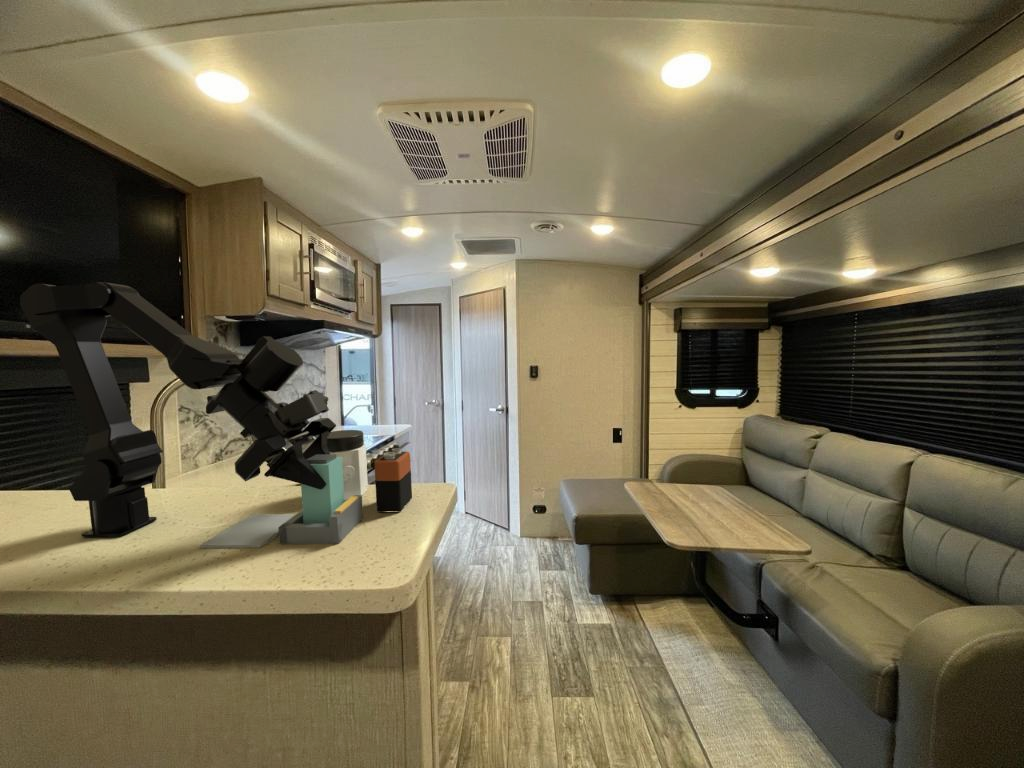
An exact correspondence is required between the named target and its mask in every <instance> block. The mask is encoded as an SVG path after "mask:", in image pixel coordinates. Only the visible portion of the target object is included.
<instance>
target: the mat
mask: <svg viewBox="0 0 1024 768" xmlns="http://www.w3.org/2000/svg"><path fill="white" fill-rule="evenodd" d="M296 514H297V513H253V514H252V513H251V514H249V515H247V516H245V517H244V518H242V519H241V520H239V521H237V522H236V523H234V524H232V525H230V526H229V527H227V528H226V529H224V530H222V531H220V532H219V533H217V534H216V535H213V536H212V537H211V538H209V539H207V540H206V541H204V542H203V543H201V544H199V548H200V549H209V548H210V549H217V548H218V549H221V548H223V549H225V548H226V549H227V548H228V549H229V548H231V549H232V548H233V549H241V548H247V549H248V548H249V549H250V548H252V549H253V548H256V549H258V548H262V547H263V546H265V545H266V544H267V543H269V542H271V540H273V539H274V538H275V537H277V536H279V531H278V527H279V526H281V525H282V524H284V523H285V522H286V521H288V520H289V519H291V518H292V517H293V516H295V515H296Z"/></svg>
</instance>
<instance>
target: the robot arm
mask: <svg viewBox="0 0 1024 768" xmlns="http://www.w3.org/2000/svg"><path fill="white" fill-rule="evenodd" d="M19 305H20V309H21V310H22V312H23V315H24V316H25V317H26V319H27V321H28V323H29V324H30V326H31V327H32V329H33V330H34V331H35V332H36V333H38V334H39V335H41V336H42V337H43V338H44V339H46V340H47V341H48V342H49V343H50V344H53V345H54V346H55V348H56V350H57V353H58V355H59V358H60V362H61V363H62V366H63V369H64V371H65V374H66V375H67V376H66V377H67V379H68V381H69V384H70V387H71V390H72V391H73V395H74V397H75V400H76V401H77V404H78V407H79V409H80V411H81V414H82V417H83V419H84V422H85V425H86V427H87V430H88V433H89V437H88V439H87V442H86V445H85V448H84V450H83V453H82V456H83V457H82V458H83V461H84V466H85V469H84V470H83V472H82V473H81V474H80V475H79V476H78V477H77V478H76V479H75V480H74V482H73V483H72V484H71V485H70V487H69V488H68V489H69V493H70V494H71V497H72V499H73V500H74V501H76V502H88V506H89V515H90V526H91V529H89V530H87V531H84V532H81V533H80V537H82V538H93V537H94V538H109V537H111V538H117V537H122V536H125V535H127V534H130V533H131V532H133V531H136V530H138V529H139V528H142V527H144V526H147V525H148V524H151V523H153V522H155V521H157V520H158V519H157V516H150V514H149V513H150V512H149V504H148V502H149V501H148V497H147V496H146V491H145V487H144V486H146V485H151V484H153V483H155V481H156V478H157V473H158V470H159V467H160V465H161V464H162V456H161V453H163V452H164V451H163V449H162V448H161V447H160V445H159V444H158V441H157V435H156V433H155V432H154V430H153V429H148V430H142V429H140V428H139V427H137V426H136V425H135V424H134V423H133V422H132V419H131V417H130V414H129V411H128V408H127V405H126V403H125V401H124V399H123V396H122V392H121V390H120V387H119V385H118V382H117V378H115V374H114V372H113V369H112V366H111V365H110V361H109V360H108V356H107V353H106V351H105V349H104V346H103V344H102V340H101V339H102V336H103V333H104V331H105V329H106V326H107V324H108V322H107V317H112V318H114V319H115V320H116V321H118V322H119V323H120V324H121V325H123V326H124V327H125V328H127V329H129V330H130V331H131V332H133V333H134V334H135V335H137V337H139V338H141V339H142V340H143V341H145V342H146V343H147V344H149V345H150V346H151V347H153V348H154V349H155V350H157V351H158V352H159V353H161V354H162V355H163V356H164V358H165V359H166V360H167V364H168V368H169V370H170V371H171V372H172V373H173V374H174V375H175V376H176V377H177V378H178V379H179V380H180V381H181V383H183V384H184V385H185V386H186V387H188V388H189V389H191V390H207V389H214V388H220V387H221V388H220V390H219V391H218V392H217V393H216V394H212V395H208V396H207V397H206V400H207V402H206V406H205V413H206V415H211V414H212V415H213V414H216V413H220V412H221V413H222V412H225V413H226V414H227V415H229V416H230V417H231V418H232V419H233V420H234V421H235V422H236V423H237V424H238V425H239V426H241V428H243V430H241V431H240V433H239V434H240V435H241V436H242V437H243V438H244V439H246V438H249V437H253V439H255V440H254V441H253V442H252V443H251V444H250V445H249V446H248V448H247V449H246V450H245V451H244V452H243V453H242V454H241V455H240V456H239V458H238V459H237V460H236V461H234V471H235V474H236V475H238V476H239V478H241V479H242V480H243V481H244V483H245V482H248V481H250V480H252V479H255V478H256V477H258V476H259V475H260V474H261V466H262V465H263V464H264V463H266V466H267V467H268V470H267V471H265V473H264V475H263V476H265V478H268V477H272V478H277V479H281V480H286V481H289V482H294V483H297V484H300V485H301V484H303V485H307V486H310V487H313V488H317V489H320V490H321V489H323V488H324V487H325V486H326V483H325V481H324V480H323V479H322V477H321V476H320V475H319V474H318V473H317V472H316V470H315V469H314V468H313V467H312V466H311V465H310V464H309V463H308V461H307V459H309V458H311V457H313V456H315V455H317V454H330V452H329V450H328V448H327V437H328V435H329V433H330V432H333V431H334V429H336V427H337V424H336V423H335V422H334V421H333V420H332V419H330V417H320V418H318V419H314V420H312V421H309V419H312V418H313V417H316V416H318V415H319V414H324V413H326V412H328V411H330V409H329V407H328V402H329V397H328V396H325V395H324V393H323V392H320V391H318V390H311V391H309V393H305V394H303V396H301V397H300V398H297V399H296V400H294V401H292V402H290V403H287V402H284V401H283V402H278V403H277V402H276V401H275V400H274V399H273V398H272V397H270V395H268V392H278V391H280V390H281V389H282V388H283V387H284V385H285V384H287V382H288V381H289V380H290V379H291V377H293V376H294V374H296V372H297V371H298V370H299V369H300V368H301V367H302V366H303V364H304V361H303V358H302V357H301V355H300V354H299V353H298V352H297V351H296V350H295V349H293V348H292V349H291V348H290V347H289V346H287V345H286V344H283V343H282V342H279V341H277V340H275V339H274V338H273V337H272V336H265V335H263V336H260V338H259V339H258V340H257V341H256V343H255V344H254V347H252V349H250V351H249V352H248V353H247V354H246V356H244V357H243V358H239V357H238V356H237V354H235V353H234V352H232V351H231V350H228V349H226V348H224V347H222V346H220V345H218V344H216V343H213V342H210V341H208V340H205V339H201V338H200V337H197V336H195V335H193V334H192V333H191V332H190V331H188V330H187V329H185V328H184V327H183V326H182V325H180V324H179V323H177V322H176V321H175V320H173V319H172V318H171V317H170V316H168V315H167V314H165V313H164V312H162V311H161V310H160V309H158V307H156V306H154V305H153V304H152V303H151V302H149V301H148V300H146V299H145V298H144V297H142V296H141V295H140V293H139V292H138V291H137V290H136V289H134V288H133V287H131V286H129V285H125V284H120V283H119V284H117V283H111V282H105V281H104V282H103V281H99V282H93V283H85V284H74V285H73V284H72V285H71V284H70V285H69V284H67V285H53V284H45V283H34V284H32V285H30V286H29V287H27V289H26V290H24V291H23V292H22V293H21V294H20V298H19Z"/></svg>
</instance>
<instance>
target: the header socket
mask: <svg viewBox="0 0 1024 768" xmlns="http://www.w3.org/2000/svg"><path fill="white" fill-rule="evenodd" d="M363 511H364V508H363V495H354V496H351V497H350V498H349V499H348V500H345V501H344V503H343V504H342V505H341V506H340V507H338V508H337V509H336V510H335V511H334V513H333V514H332V515H331V516H330V517H329V523H324V524H303V509H302V510H300V511H299V512H298V513H295V514H296V515H295V516H293V517H292V518H291V519H289V520H288V521H286V522H285V523H284V524H282V525H281V526H279V527H278V531H279V534H278V542H279V545H285V544H286V545H293V544H294V545H300V544H301V545H303V544H305V545H306V544H307V545H308V544H309V545H311V544H313V545H318V544H320V545H323V544H324V545H325V544H326V545H327V544H331V545H333V544H335V545H336V544H340V543H341V542H342V541H343V539H345V538H346V537H347V536H348V535H349V534H350V533H351V531H352V530H354V528H355V527H356V526H357V525H358V524H359V523H360V522H362V520H363V519H364V512H363ZM362 518H363V519H362ZM361 519H362V520H361ZM358 522H359V523H358ZM347 534H348V535H347Z"/></svg>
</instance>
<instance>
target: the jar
mask: <svg viewBox="0 0 1024 768" xmlns="http://www.w3.org/2000/svg"><path fill="white" fill-rule="evenodd" d="M327 448H328V450H329V452H330V454H336V457H342V468H343V487H344V502H345V501H347V500H348V499H349V498H350V497H351V496H354V495H362V496H363V495H364V494H365V493H366V492H367V490H368V489H369V481H368V468H367V467H368V465H367V462H368V460H367V445H366V443H365V441H364V432H363V431H361V430H357V429H343V430H332V431H331V432H330V433H329V435H328V437H327ZM365 486H368V487H365ZM367 488H368V489H367Z"/></svg>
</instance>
